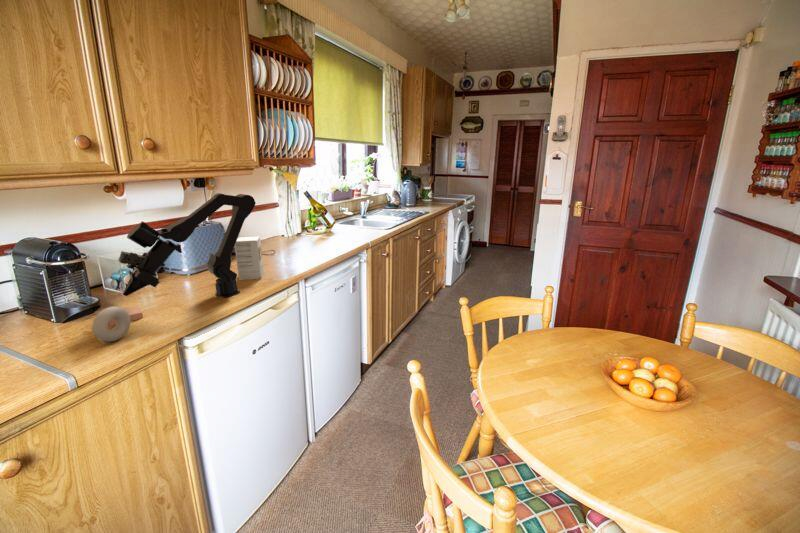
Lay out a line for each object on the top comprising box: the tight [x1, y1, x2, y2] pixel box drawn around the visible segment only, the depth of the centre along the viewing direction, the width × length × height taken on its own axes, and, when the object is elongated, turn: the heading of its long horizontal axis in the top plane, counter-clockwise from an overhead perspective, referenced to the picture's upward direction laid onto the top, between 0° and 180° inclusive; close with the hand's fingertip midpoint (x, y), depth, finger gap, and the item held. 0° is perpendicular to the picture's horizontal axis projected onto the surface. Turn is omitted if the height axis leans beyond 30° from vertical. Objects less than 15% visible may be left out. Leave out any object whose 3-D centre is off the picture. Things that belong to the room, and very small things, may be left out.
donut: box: [92, 306, 131, 343], centre depth 105 cm, size 10×3×10 cm, turn 166°
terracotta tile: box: [108, 305, 144, 327], centre depth 121 cm, size 2×8×9 cm
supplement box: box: [234, 236, 265, 281], centre depth 161 cm, size 10×9×17 cm
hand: (124, 295), depth 120 cm, fingers closed
